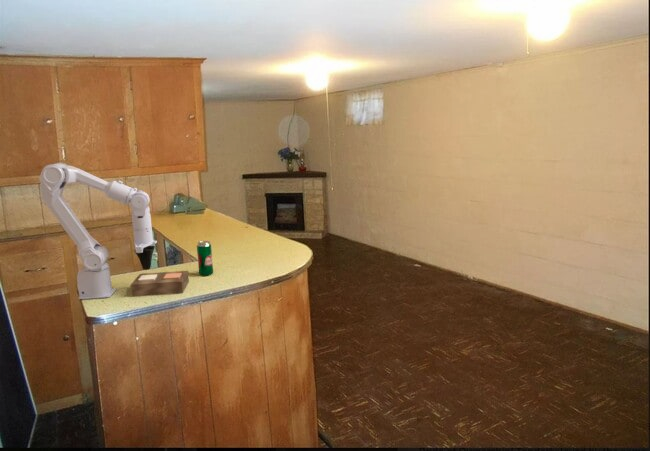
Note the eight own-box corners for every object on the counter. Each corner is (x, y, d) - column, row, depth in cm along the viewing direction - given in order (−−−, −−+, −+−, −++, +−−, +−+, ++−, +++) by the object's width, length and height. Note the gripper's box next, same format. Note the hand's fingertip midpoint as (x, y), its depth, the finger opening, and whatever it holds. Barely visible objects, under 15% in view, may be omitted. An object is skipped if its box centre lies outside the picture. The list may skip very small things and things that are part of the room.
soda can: (208, 276, 178) (205, 244, 176) (196, 275, 180) (193, 243, 178) (216, 272, 183) (213, 241, 181) (204, 271, 185) (201, 240, 183)
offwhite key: (138, 287, 163) (138, 279, 163) (142, 282, 168) (141, 275, 168) (154, 286, 164) (153, 278, 163) (157, 281, 169) (157, 274, 168)
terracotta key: (164, 285, 164) (163, 278, 164) (167, 280, 169) (166, 273, 168) (179, 284, 165) (178, 277, 164) (182, 279, 169) (181, 272, 169)
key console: (131, 296, 160) (130, 284, 159) (141, 284, 172) (140, 273, 171) (182, 293, 162) (181, 281, 161) (188, 281, 173) (187, 270, 173)
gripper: (150, 232, 156) (154, 274, 158) (160, 223, 170) (163, 262, 172) (126, 233, 155) (131, 275, 158) (138, 224, 169) (142, 263, 172)
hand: (146, 268), depth 165 cm, fingers closed
